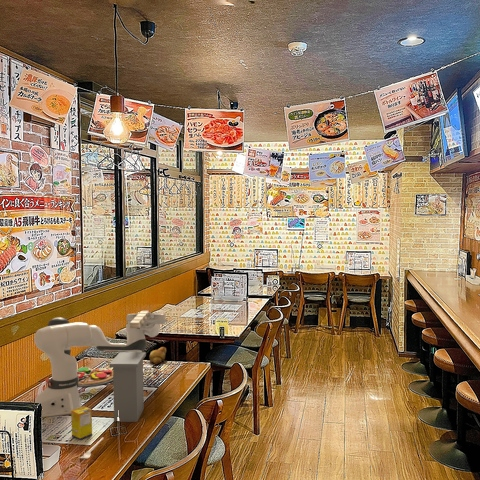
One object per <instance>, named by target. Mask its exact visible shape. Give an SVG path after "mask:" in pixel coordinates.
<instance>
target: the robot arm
mask: <svg viewBox="0 0 480 480" xmlns="http://www.w3.org/2000/svg"><path fill="white" fill-rule="evenodd" d="M139 313H140V312H137V313H128V314H126V319H125V320H126V322H127V323H126V324H125V329H126V331H125V332H126V342H125V343H122V342H121V343H115V342H110V341H108V339H107V337H106V336H105V334H104V332H103V329H102V328H101V327H100V326H98V325H95V324H88V323H87V322H81V321H80V322H77V321H75V322H70V320H68V319H67V318H64V317H60V316H57V317H54V318H51V319H50V320H49V321H48V323H47V326H44V327H42V328H39V329H37V330H36V331H35V334H34V337H33V339H34V340H33V341H34V344H35V347H36V348H37V349H38V351H39V350H40V351H41V352H43V353H44V354H45V355H46V356H47V357H48V359H49V361H50V365H51V378H49V377H46V378H45V380H44V381H45V383H46V384H47V387H46V388H45V389H44V390H42V391H41V392H40V393H39V394H38V395H36V397H35V402H34V404H35V403H41V404H42V409H43V410H42V417H41V418H47V417H53V416H54V417H55V416H56V417H57V416H62V415H71V410H74V409H77V408H80V407H82V401H81V399H80V394H79V387H78V385H79V379H78V376H77V369H78V361H77V358H76V357H75V356H73V355H71V353H72V350H71V348H73V347H74V348H81V347H82V348H83V347H93V348H96V349H97V351H100V352H108V353H112V352H113V353H116V352H117V353H120V352H145V350H146V348H147V347H148V346H147V341H146V336H148V337H150V338H155V337H157V336H158V335H159V333H160V331H161V327H160V325H164V324H166V323H168V320H167V316H166V314H164V313H152V312H149V313H148V318H147V319H146V320H145V321H144V323H143V324H142V325H141V326H140V327H139V328H130V322H131V321H132V320H133V319H134V318H135V317H136V316H137V315H138V314H139Z"/></svg>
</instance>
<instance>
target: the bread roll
mask: <svg viewBox="0 0 480 480" xmlns="http://www.w3.org/2000/svg"><path fill="white" fill-rule="evenodd" d="M166 353H167V347H165V346H161V347H160V348H158V349H155V350H154V349H153V350H152V351H150V354H149V356H148V357H149V361H150V362H151V363H153V364H161V363H162V362H164V361H165V359H166Z"/></svg>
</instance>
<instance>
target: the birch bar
mask: <svg viewBox="0 0 480 480" xmlns="http://www.w3.org/2000/svg"><path fill="white" fill-rule="evenodd" d="M138 313H139V314H138V315H137V316H136V317H135V318H134V319H133V320H132V321H131V322H130V328H139V327H140V326H141V325H142V324H143V323H144V321H145V320H146V319H147V318H148V313H150V310H141V311H140V312H138Z"/></svg>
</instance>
